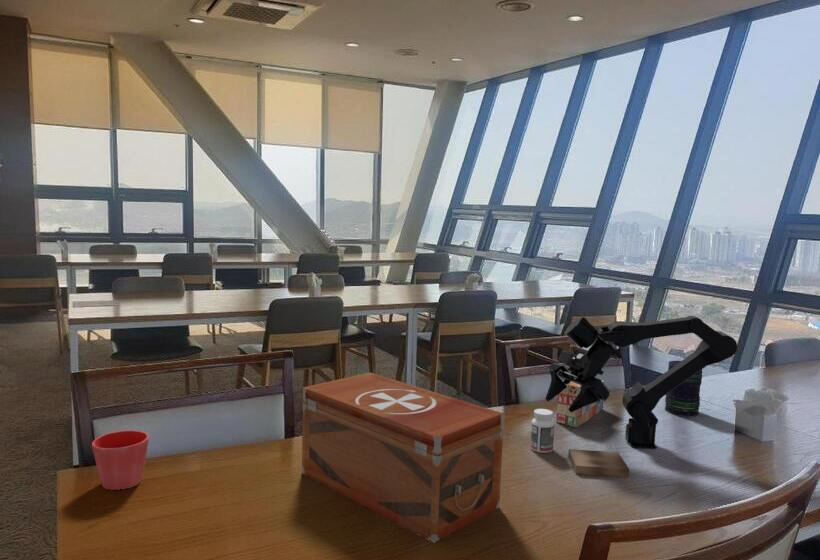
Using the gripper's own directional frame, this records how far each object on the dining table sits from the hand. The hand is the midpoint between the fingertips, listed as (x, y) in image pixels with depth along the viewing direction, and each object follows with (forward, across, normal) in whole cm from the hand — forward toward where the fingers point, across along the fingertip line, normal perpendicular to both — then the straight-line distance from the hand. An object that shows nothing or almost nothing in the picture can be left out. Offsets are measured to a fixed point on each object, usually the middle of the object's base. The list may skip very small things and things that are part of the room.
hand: (557, 405), depth 159 cm
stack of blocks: (-8, -17, +24) cm, 30 cm away
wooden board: (+7, +14, +9) cm, 18 cm away
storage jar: (-32, -9, +47) cm, 58 cm away
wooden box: (+42, +7, -26) cm, 50 cm away
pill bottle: (+11, 0, +5) cm, 12 cm away
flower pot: (+80, -17, -64) cm, 104 cm away
